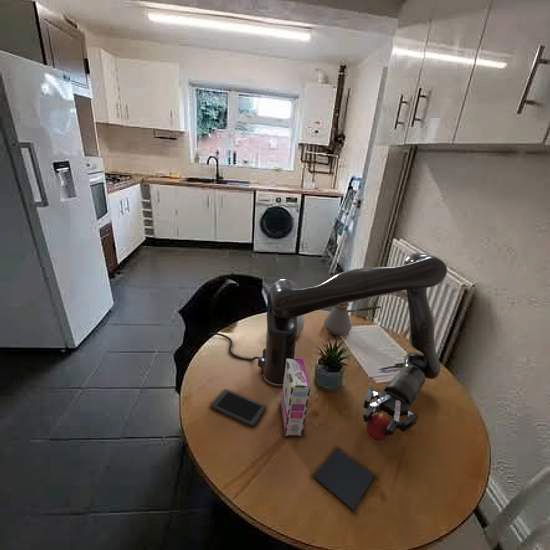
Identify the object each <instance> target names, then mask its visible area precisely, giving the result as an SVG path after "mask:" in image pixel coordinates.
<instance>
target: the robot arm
mask: <svg viewBox="0 0 550 550" xmlns="http://www.w3.org/2000/svg"><path fill="white" fill-rule="evenodd" d="M447 275H448V267H447V264H446V263H445V262H444V261H443V260H442V259H440V258H439V257H437V256H434V255H430V254H427V253H422V252H413V253H412V254H410V255H408V256H407V257H406V258H405V260H404V262H403V264H401V265H397V266H365V267H358V268H354V269H349V270H345V271H342V272H339V273H338V274H335V275H333V276H332V277H331V278H329V279H328V280H326V281H324V282H322V283H321V284H318V285H315V286H311V287H310V286H309V287H306V288H305V287H304V288H299V287H298V285H297V284H296V283H295V282H294V281H292V280H290V279H286V278H282V279H278V280H276V281H275V282H273V283H272V285H271V286H270V288H269V290H268V294H267V304H266V305H267V307H266V308H267V309H266V338H265V339H266V340H265V348H263V349H262V356H253V357H252V358H251V357H250V358H247V357H242V356H239V355H237V354H235V353H233V351H232V346H233V340H232V339H231V338H230V337H229V336H228V335H225V334H223V333H220V332H211V333H209V334H207V336H208V337H211V336H220V337H223V338H225V339H227V340H228V341H229V347H228V353H229V354H230V355H231V356H232V357H234V358H236V359H239V360H242V361H249V362H253V361H255V360H257V367H258V368H260V369H261V372H260V374H261V375H262V377H263V380H264V382H266V383H267V384H268V385H270V386H272V387H283V383H284V375H285V367H286V359H295V354H296V346H297V345H296V344H297V338H298V336H297V329H298V324H297V317H298V316H301V315H304V316H305V315H307V314H309V313H312V312H315V311H320V310H323V309H326V308H332V307H334V306H336V305H340V304H344V303H349V304H350V303H353V302H360V301H363V300H368V299H372V298H376V297H381V296H385V295H388V294H393V293H397V292H403V291H405V292H406V297H407V304H408V315H409V316H408V317H409V345H410V347H411V348H412V349H414V350H416V351H418V352H415V351H409V352H407V353H406V354H405V356H404V359H403V364H402V367H401V370H400V371H399V372H398V374H396V375H395V376H394V377H393V378H392V379H391V380H390V381H389V383H388V384H387V385H386V387H385V388H384V389H383V390H381V391H379V392H377V391H374V388H373V387H369V388H368V390H367V393H366V396H365V399H364V402H363V406H362V407H363V408H364V409H366V410H365V411H364V412H363V416H362V418H363V422H364V423H365V424H366V423H367V421H368V420H369V419H370V418H371V416H373V415H374V414H376V413H380V412H383V413H386V414H387V415H389V416H390V417H391V421H390V422H389V425H388V427H387V428H386V431H385V434H384V435H386V436H388V435H389V436H393V434H394V432H395V431H396V430H397V429H398V430H399V431H400V432H401V433H405V432H406V431H408V430H409V429H410V428H412V427H413V426H415V425H416V424H417V422H418V420H419V417H420V416H419V414H418V413H417V412H414V413H413V412H411V410H410V408H411V407H412V405H413V403H414V402H415V401H416V399H417V397H418V395H419V392H420V391H421V389H422V388H423V386H424V385H425V382H426V379H428V380H435V379H436V378H438V377H439V375H440V373H441V363H440V359H439V357H438V353H437V350H436V346H435V321H434V317H433V316H434V315H433V313H432V310H431V306H430V303H429V298H428V293H427V292H428V291H427V289H428V288H433V287H436V286H438V285H439V284H441V283H442V282H443V281H444V280H445V279H446V277H447ZM419 352H420V353H419ZM374 399H376V401H374V402H372V403H371V401H373V400H374ZM406 416H407V417H406ZM400 417H406V418H405V419H404V420H400ZM389 436H388V437H389Z"/></svg>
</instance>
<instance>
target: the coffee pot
mask: <svg viewBox="0 0 550 550" xmlns="http://www.w3.org/2000/svg"><path fill="white" fill-rule="evenodd" d="M349 307H350V303H344V304H340V305H336V306H333V308H332V309H331V310H330V312H329V313H328V314H327V316H326V317H325V319H324V320H323V325H324V326H323V327H324V328H325V330H327V332H329V333H330V334H331V335H334V336H344V335H346V334H348V333H349V332H350V331H351V330H352V322H351V319H350V315H349V313H354V312H365V311H371V310H376V309H379V310H380V312H382V306H380V305H377V306H375V305H374V306H367V307H360V308H355V309H348V308H349Z"/></svg>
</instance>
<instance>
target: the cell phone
mask: <svg viewBox="0 0 550 550" xmlns="http://www.w3.org/2000/svg"><path fill="white" fill-rule="evenodd" d="M210 407H211V408H212V409H213V410H216V411H218V412H220V413H222V414H224V415H227V416H228V417H231V418H232V419H234V420H237V421H239V422H241V423H243V424H245V425H247V426H249V427H254V426H255V425H256V424H257V422H258V421H259V419H260V418H261V416H262V415H263V414H264V411H265V410H266V407H265V406H264V405H263V404H261V403H258V402H256V401H254V400H252V399H249V398H246V397H245V396H242V395H241V394H238V393H235V392H233V391H230V390H228V389H224V390H222V391H221V393H219V395H218V396H217V397H216V398H215V400H214V401H213V402H212V403H211V404H210Z"/></svg>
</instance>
